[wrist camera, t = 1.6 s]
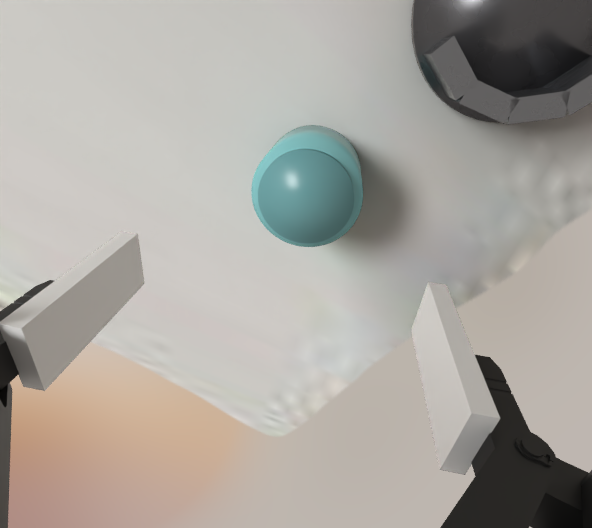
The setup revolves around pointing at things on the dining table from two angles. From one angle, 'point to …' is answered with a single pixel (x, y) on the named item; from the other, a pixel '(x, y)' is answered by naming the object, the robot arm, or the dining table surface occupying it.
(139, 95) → the dining table surface
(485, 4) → the dark grey round bowl
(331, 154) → the cap
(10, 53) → the dining table surface
